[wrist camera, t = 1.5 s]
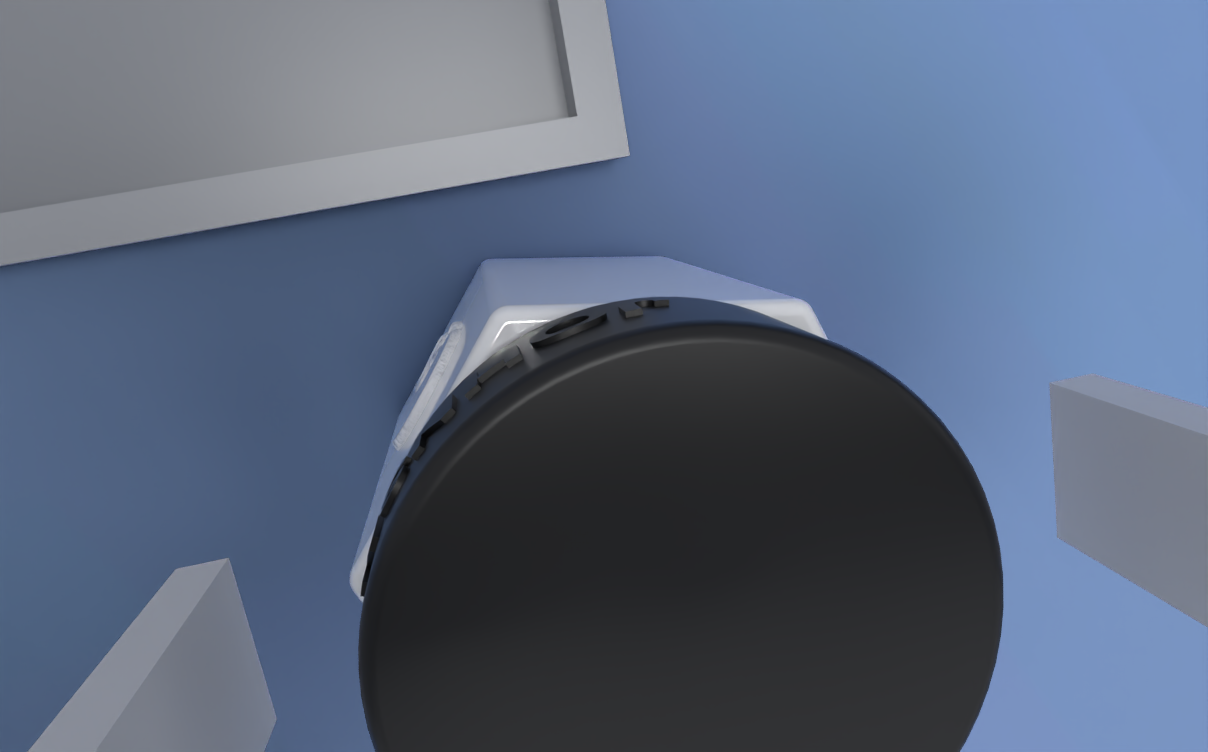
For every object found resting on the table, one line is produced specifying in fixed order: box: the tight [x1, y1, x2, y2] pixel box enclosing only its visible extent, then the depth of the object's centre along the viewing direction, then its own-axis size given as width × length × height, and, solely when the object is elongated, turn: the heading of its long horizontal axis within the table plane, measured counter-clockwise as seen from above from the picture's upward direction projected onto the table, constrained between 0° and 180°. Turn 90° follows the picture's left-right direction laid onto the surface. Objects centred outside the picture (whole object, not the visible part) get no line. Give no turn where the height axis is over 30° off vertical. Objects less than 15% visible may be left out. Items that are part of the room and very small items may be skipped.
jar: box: [349, 256, 1003, 752], centre depth 16 cm, size 9×8×12 cm
